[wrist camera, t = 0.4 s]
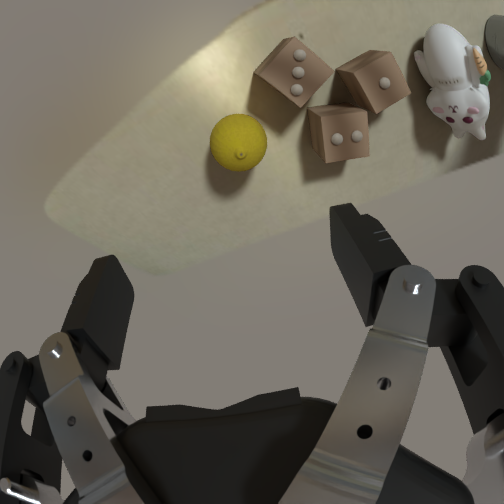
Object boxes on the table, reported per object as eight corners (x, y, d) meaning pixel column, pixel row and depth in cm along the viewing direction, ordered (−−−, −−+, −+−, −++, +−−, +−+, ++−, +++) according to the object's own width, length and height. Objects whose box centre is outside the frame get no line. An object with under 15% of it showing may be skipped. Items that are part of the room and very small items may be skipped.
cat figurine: (467, 20, 16) (501, 155, 23) (480, 18, 18) (510, 130, 25) (393, 32, 24) (432, 148, 31) (418, 27, 26) (451, 126, 33)
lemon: (263, 152, 33) (274, 180, 27) (214, 157, 33) (213, 187, 27) (259, 105, 30) (271, 120, 23) (207, 111, 30) (204, 128, 23)
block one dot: (369, 50, 26) (392, 52, 22) (388, 85, 29) (412, 93, 25) (335, 69, 28) (354, 72, 23) (356, 104, 30) (377, 114, 26)
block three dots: (283, 39, 25) (295, 36, 21) (318, 68, 28) (335, 71, 23) (253, 72, 27) (259, 75, 23) (289, 100, 30) (301, 108, 26)
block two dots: (348, 102, 30) (368, 111, 26) (351, 141, 33) (370, 156, 29) (306, 107, 30) (321, 117, 26) (312, 148, 33) (326, 164, 29)
